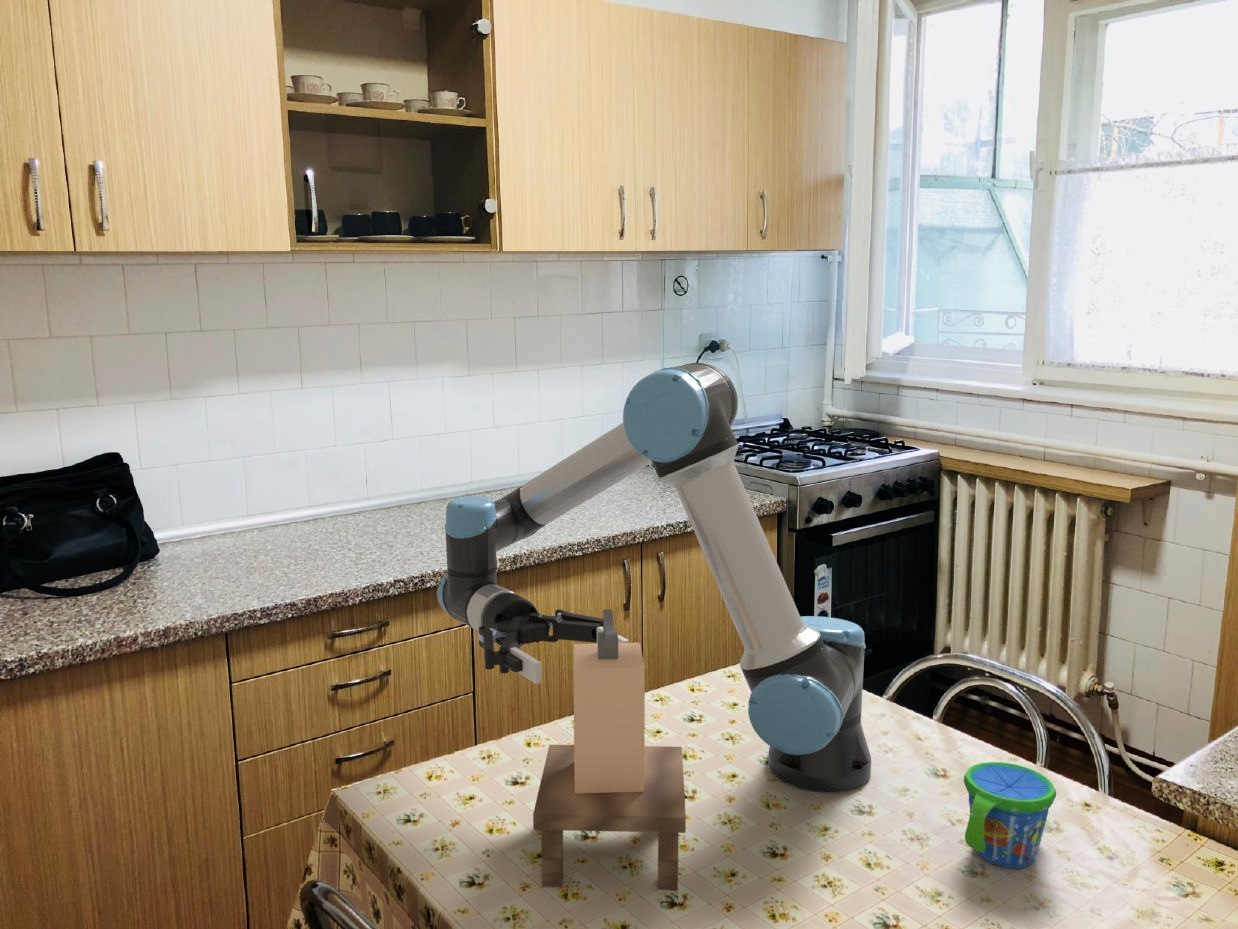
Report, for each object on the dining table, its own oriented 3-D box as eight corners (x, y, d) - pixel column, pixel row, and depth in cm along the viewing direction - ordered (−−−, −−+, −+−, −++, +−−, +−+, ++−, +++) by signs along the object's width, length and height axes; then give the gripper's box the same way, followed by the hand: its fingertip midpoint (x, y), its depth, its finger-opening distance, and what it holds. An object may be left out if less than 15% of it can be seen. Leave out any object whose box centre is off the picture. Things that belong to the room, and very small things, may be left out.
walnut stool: (681, 814, 136) (681, 746, 134) (684, 894, 118) (685, 817, 117) (550, 812, 137) (549, 744, 135) (534, 891, 119) (533, 814, 117)
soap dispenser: (574, 761, 130) (572, 600, 126) (639, 759, 131) (639, 599, 127) (575, 812, 118) (573, 635, 114) (647, 810, 118) (647, 634, 114)
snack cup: (1006, 818, 135) (1011, 748, 133) (1078, 854, 127) (1084, 780, 125) (930, 853, 127) (934, 780, 125) (1001, 895, 118) (1007, 817, 116)
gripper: (575, 624, 153) (660, 667, 136) (425, 659, 138) (499, 712, 121) (574, 577, 151) (660, 615, 134) (423, 608, 137) (498, 654, 120)
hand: (584, 661), depth 128 cm, fingers open, 13 cm apart
